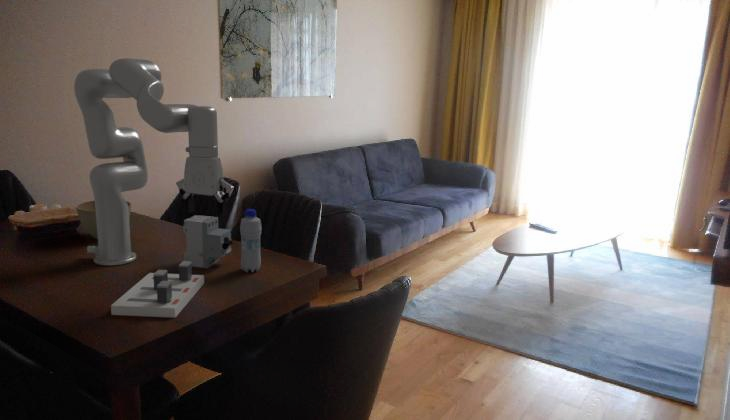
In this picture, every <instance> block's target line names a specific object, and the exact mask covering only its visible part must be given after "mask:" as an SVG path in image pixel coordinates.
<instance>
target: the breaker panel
mask: <svg viewBox="0 0 730 420" xmlns="http://www.w3.org/2000/svg"><path fill="white" fill-rule="evenodd" d="M154 273H155V272H149V273H147V274H146V275H145V276H144V277H142V279H141V280H139V281H138V282H137V283H136V284H135V285H133V286H132V287H131V288H130V289H128V290H127V291H126V292H125V293H124V294H123V295H121V296H120V297H119V298H118V299H117V300H116V301H114V302H113V303H112V304H110V310H111V316H128V317H129V316H130V317H131V316H132V317H150V318H151V317H152V318H153V317H155V318H177V316H178V315H179V314H180V312H182V311H183V309H184V308H185V307H186V306H187V305H188V303H189V302H190V301H191V300H192V299H193V297H194V296H195V294H197V292H198V291H200V289H201V288H202V287H203V285H204V284H205V274H204V275H203V274H192V277H191V278H190V279H189V280H188V281H187V280H179V273H168V281H171V283H172V298H171V299H170V300H169V301H168V302H167V303H158V302H157V290H154V277H153V274H154Z"/></svg>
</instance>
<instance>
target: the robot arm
mask: <svg viewBox="0 0 730 420" xmlns="http://www.w3.org/2000/svg"><path fill="white" fill-rule="evenodd" d="M73 89H74V95H75V99H76V101H77V104H78V107H79V108H80V111H81V113H82V114H81V115H82V117H83V123H84V127H85V132H86V133H85V134H86V138H87V144H88V147H89V148H88V149H89V151H90V154H91V155H92V156H93V157H94V158H97V159H98V160H99V159H100V160H108V159H117V158H122V160H123V161H116V162H115V161H114V162H106V163H102V164H98V165H96V166H94V167H93V168H91V170H90V173H89V182H90V187H91V190H92V194H93V198H94V199H93V201H95V209H96V222H97V236H98V239H97V246H94V245H87V247H86V253H87V254H90V255H91V254H94V255H95V256H94V257H93V262H94V263H95V264H96V265H100V266H120V265H125V264H129V263H131V262H132V263H133V262H134V261H135V260H137V253H136V252H133V251H132V245H131V243H132V242H131V228H130V217H129V208H128V204H127V202H128V201H127V200H126V199H125V198H124V197H123V195H122V193H124V192H129V191H134V190H135V191H137V190H140V189H142V188H144V187H146V185H147V183H148V179H149V177H148V175H149V174H148V167H147V162H146V157H145V150H144V146H143V145H144V144H143V141H142V138H141V136H140V134H139V133H138V132H137V131H136V130H135V129H134V128H131V127H128V126H126V127H125V126H123V127H122V126H121V127H117V125H116V120H115V116H114V112H113V111H112V109H111V108H110V105H108V104H107V102H105V100H103V99H130V98H132V99H134V100H135V101H136V108H137V110H138V111H137V112H138V114H139V116H140V117H141V119H142V120H143V121H144V122H145V123H146V124H147V125H149V126H150V127H151V128H153V129H154V130H155V131H158V132H160V133H165V134H169V133H170V134H172V133H188V147H185V152H186V153H188V156H187V157H186V159H185V164H184V169H183V179H180V180H178V181H176V183H175V184H176V187H177V189H178V192H179V193H180V195H182V198H183V199H184V203H185V206H184V207H185V213H186V214H190V213H193V212H195V198H194V197H193V196H194V195H200V196H211V197H212V196H214V197H215V199H216V200H217V202H216V217H218V218H219V217H223V216H225V215H226V213H227V212H226V211H227V208H226V206H227V204H226V201H228V199H229V198H230V197H231V196H232V193H233V191H234V188H235V187H234V186H233V185H232V184H230V183H229V182H227V181H226V180H225V179H224V170H223V165H222V160H221V157H219V147H218V146H219V143H218V141H219V140H218V137H219V136H218V113H217V109H216V108H215V107H213V106H208V105H207V106H206V105H205V106H204V105H196V104H189V103H187V104H186V103H185V104H184V103H182V104H181V103H180V104H179V103H174V104H173V103H165V104H164V103H163V102H160V101H161V100H162V98H163V96H164V92H165V89H164V85H163V82H162V72H161V69H160V68H159V66H158V65H157V64H156V63H155V62H153V61H152V60H149V59H139V58H129V57H128V58H127V57H125V58H124V57H123V58H118V59H116V60H113V62H112V63H110V65H109V69H102V68H90V69H85V70H81V72H79V73H78V74H77V75H76V77H75V78H74V84H73ZM224 188H225V189H224ZM225 190H226V191H225ZM224 191H225V193H224ZM126 201H127V202H126Z"/></svg>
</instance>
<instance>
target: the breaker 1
mask: <svg viewBox="0 0 730 420" xmlns="http://www.w3.org/2000/svg"><path fill="white" fill-rule="evenodd" d="M171 298H172V283H171V281H161V282H160V283H159V284H158V285H157V302H158V303H167V302H168V301H169V300H170V299H171Z"/></svg>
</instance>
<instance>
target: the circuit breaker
mask: <svg viewBox="0 0 730 420" xmlns="http://www.w3.org/2000/svg"><path fill="white" fill-rule="evenodd" d="M182 227H183V234H185V237H186V238H185V239H186V240H185V241H186V250H185V251H183V253H184V254H183V256H184V258H183V259H184V260H183V261H192V267H195V268H204V269H209V268H210V267H212V266H213V265H215V264H216V263H218V262H220V259H222V258H223V257H225V256H226V255H228V254H229V253H231V252H232V245H233V244H234V240H232V230H231V229H227V228H219V217H218V216H210V215H209V216H207V215H197V214H196V215H193V216H191V217H189V218H186V219H184V220H183V226H182Z"/></svg>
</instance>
